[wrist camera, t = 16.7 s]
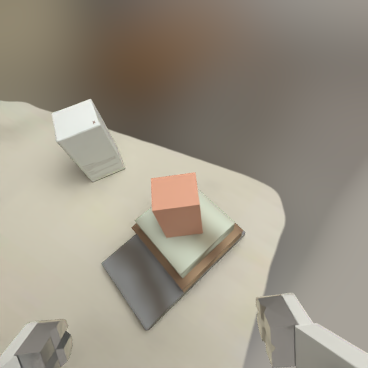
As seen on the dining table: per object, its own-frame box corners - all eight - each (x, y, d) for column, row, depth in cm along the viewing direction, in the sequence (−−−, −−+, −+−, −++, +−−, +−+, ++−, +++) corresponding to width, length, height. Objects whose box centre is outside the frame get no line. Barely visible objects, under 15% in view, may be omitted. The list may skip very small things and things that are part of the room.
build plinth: (148, 329, 34) (133, 331, 27) (104, 265, 39) (83, 253, 33) (244, 235, 39) (250, 217, 33) (194, 189, 44) (191, 167, 38)
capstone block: (202, 233, 32) (199, 204, 25) (166, 237, 32) (152, 210, 25) (199, 206, 34) (195, 172, 27) (164, 211, 35) (151, 178, 27)
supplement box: (117, 144, 52) (92, 97, 41) (126, 169, 48) (101, 124, 38) (84, 156, 51) (50, 111, 40) (91, 183, 48) (55, 141, 37)
